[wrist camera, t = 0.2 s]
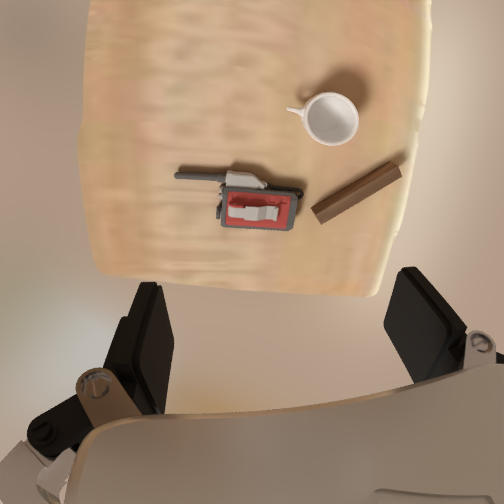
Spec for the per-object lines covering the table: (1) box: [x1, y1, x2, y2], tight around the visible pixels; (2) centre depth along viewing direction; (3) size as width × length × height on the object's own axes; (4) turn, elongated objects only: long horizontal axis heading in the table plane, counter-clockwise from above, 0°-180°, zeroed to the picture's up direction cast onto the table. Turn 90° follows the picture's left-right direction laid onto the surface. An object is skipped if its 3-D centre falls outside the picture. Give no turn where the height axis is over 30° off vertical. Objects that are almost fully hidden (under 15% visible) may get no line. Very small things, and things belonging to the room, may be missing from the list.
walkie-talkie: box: [174, 170, 304, 231], centre depth 45 cm, size 9×4×20 cm
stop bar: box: [311, 162, 402, 225], centre depth 46 cm, size 2×16×3 cm, turn 122°
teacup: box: [286, 92, 359, 146], centre depth 39 cm, size 10×8×5 cm
